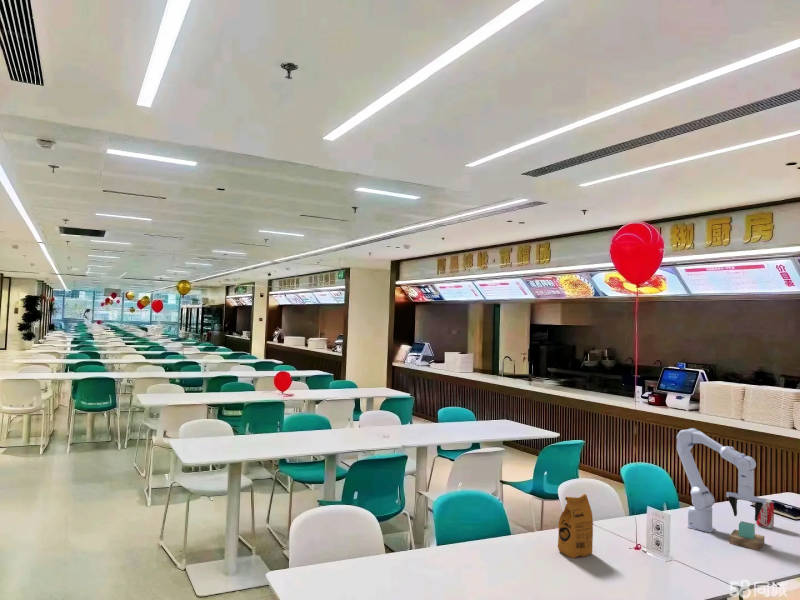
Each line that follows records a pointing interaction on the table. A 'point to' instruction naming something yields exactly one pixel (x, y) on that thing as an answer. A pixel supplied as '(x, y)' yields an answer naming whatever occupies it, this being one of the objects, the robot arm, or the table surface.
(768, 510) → the soda can
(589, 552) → the coffee package
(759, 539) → the walnut base
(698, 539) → the table surface
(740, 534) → the teal cube
